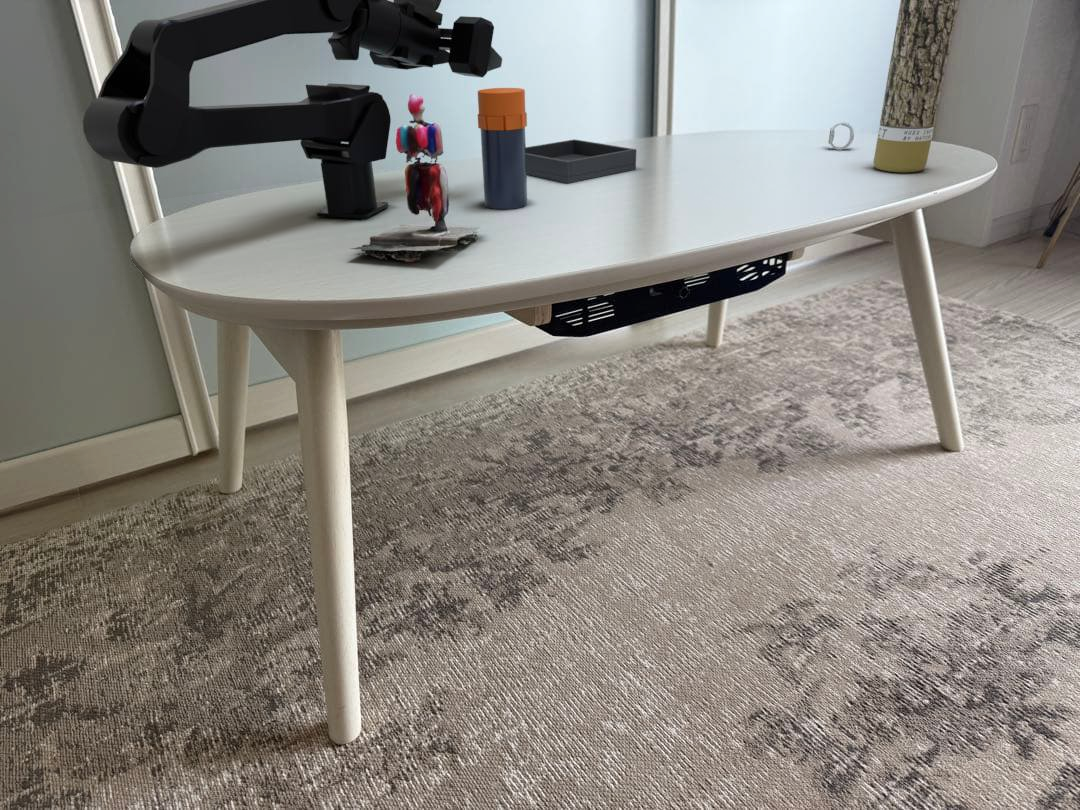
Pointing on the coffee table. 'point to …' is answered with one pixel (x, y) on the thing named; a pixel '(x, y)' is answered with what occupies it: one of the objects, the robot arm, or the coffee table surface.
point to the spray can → (504, 168)
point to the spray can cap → (501, 109)
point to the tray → (578, 160)
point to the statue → (420, 194)
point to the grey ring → (833, 135)
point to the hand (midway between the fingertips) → (474, 60)
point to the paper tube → (914, 83)
